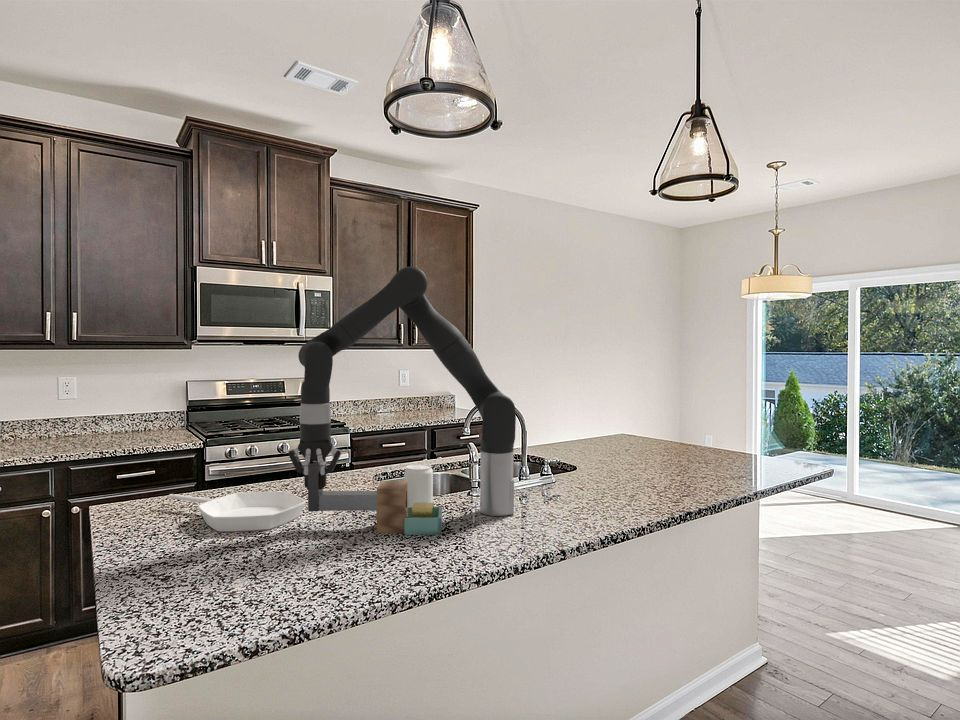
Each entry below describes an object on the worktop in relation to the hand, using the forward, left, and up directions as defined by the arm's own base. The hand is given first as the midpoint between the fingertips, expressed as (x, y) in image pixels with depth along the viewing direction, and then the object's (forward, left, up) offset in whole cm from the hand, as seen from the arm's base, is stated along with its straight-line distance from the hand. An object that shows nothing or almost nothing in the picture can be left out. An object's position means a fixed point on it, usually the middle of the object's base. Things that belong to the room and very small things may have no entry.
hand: (315, 488), depth 152 cm
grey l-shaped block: (-9, 0, -5) cm, 11 cm away
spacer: (-25, 0, -7) cm, 26 cm away
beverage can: (-25, -18, -10) cm, 33 cm away
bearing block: (-19, 0, -10) cm, 22 cm away
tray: (-27, 0, -10) cm, 29 cm away
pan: (+26, -11, -10) cm, 30 cm away
